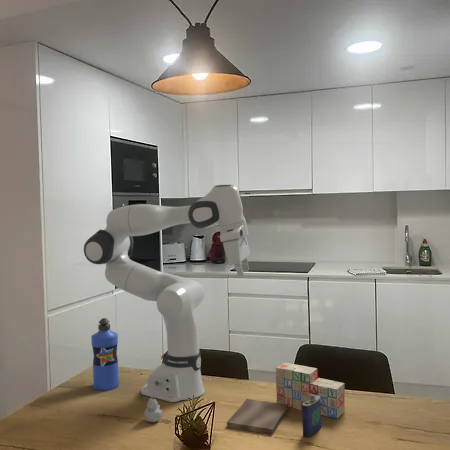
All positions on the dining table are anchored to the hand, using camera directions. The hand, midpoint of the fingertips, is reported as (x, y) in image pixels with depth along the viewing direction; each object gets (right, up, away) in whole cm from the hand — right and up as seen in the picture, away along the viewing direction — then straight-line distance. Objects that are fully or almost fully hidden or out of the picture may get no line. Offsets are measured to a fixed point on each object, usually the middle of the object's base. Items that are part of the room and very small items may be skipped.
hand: (243, 273), depth 159 cm
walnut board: (+4, -43, -10) cm, 45 cm away
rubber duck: (-28, -44, -10) cm, 53 cm away
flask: (+19, -44, -19) cm, 51 cm away
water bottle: (-50, -43, +20) cm, 69 cm away
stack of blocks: (+21, -43, -3) cm, 48 cm away
